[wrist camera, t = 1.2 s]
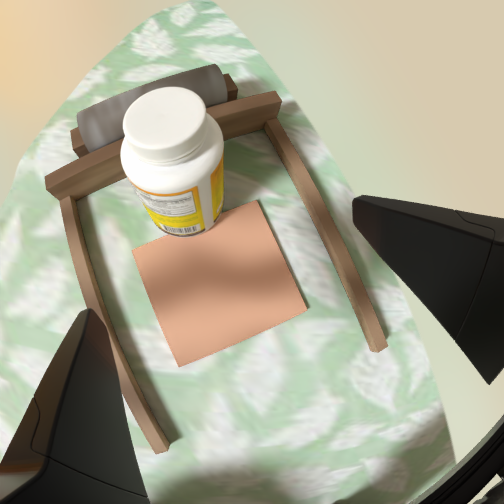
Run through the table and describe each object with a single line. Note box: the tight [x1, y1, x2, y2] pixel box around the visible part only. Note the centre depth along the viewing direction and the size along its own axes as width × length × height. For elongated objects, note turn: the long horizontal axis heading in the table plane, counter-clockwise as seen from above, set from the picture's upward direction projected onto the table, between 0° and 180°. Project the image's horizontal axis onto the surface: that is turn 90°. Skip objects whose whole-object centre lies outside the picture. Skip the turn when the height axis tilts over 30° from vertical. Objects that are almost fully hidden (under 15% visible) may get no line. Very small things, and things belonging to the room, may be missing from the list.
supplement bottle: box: [121, 87, 224, 238], centre depth 17 cm, size 6×6×10 cm
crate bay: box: [45, 64, 388, 454], centre depth 19 cm, size 25×19×5 cm
